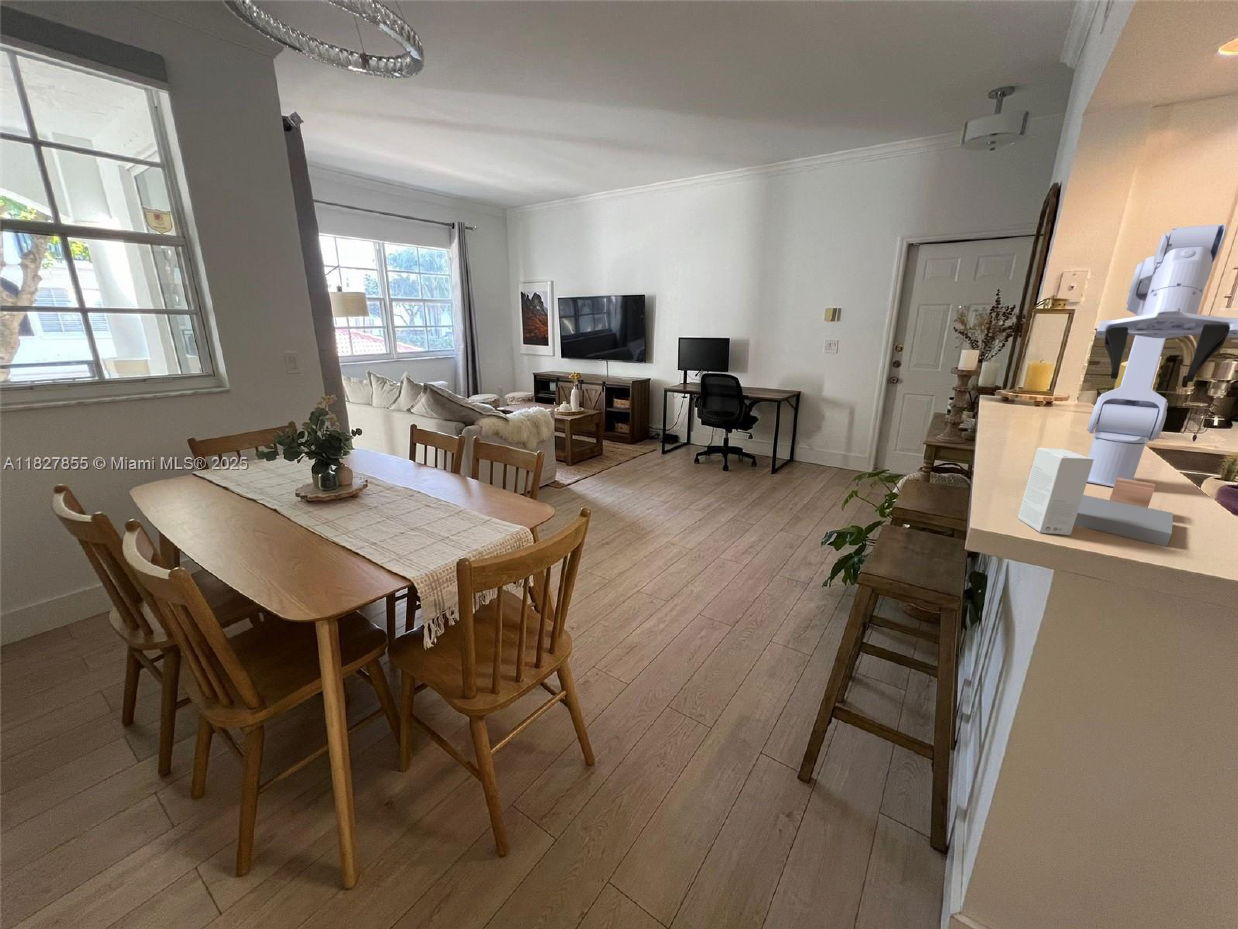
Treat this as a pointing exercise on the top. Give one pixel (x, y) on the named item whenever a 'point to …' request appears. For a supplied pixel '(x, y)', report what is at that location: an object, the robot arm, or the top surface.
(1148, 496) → the terracotta cube
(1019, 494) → the top surface
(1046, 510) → the skincare box
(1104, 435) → the robot arm
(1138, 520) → the slate base board
